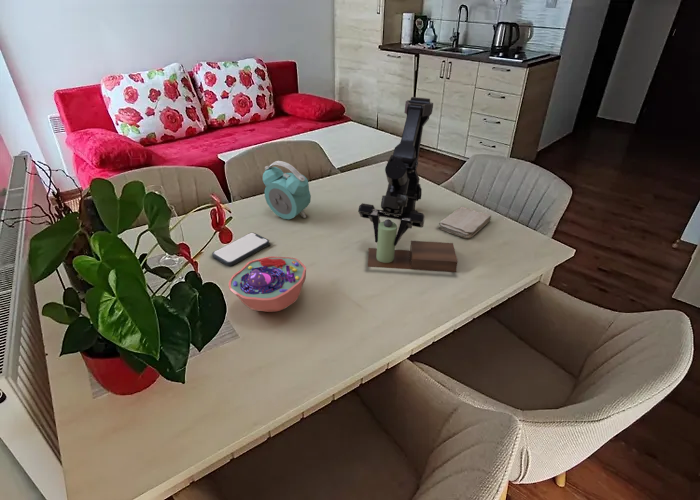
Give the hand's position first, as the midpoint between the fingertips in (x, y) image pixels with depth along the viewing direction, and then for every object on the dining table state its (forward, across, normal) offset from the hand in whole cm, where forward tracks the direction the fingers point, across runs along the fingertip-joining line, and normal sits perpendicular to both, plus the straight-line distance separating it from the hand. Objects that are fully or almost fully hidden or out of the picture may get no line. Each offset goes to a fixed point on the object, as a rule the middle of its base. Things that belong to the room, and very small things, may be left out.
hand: (385, 243), depth 123 cm
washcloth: (-18, +21, +28) cm, 39 cm away
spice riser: (+3, +7, +7) cm, 11 cm away
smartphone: (+10, -43, 0) cm, 44 cm away
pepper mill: (+3, 0, +5) cm, 6 cm away
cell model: (+24, -24, -13) cm, 36 cm away
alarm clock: (-8, -38, +19) cm, 43 cm away
